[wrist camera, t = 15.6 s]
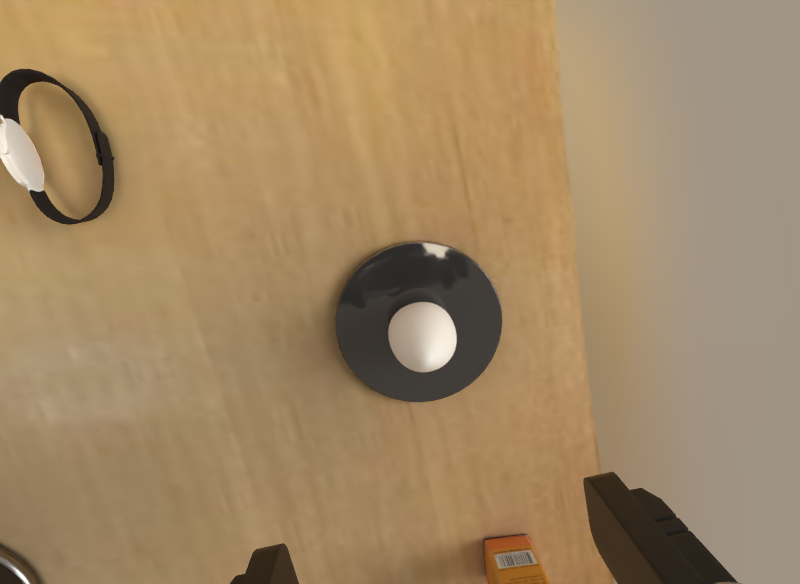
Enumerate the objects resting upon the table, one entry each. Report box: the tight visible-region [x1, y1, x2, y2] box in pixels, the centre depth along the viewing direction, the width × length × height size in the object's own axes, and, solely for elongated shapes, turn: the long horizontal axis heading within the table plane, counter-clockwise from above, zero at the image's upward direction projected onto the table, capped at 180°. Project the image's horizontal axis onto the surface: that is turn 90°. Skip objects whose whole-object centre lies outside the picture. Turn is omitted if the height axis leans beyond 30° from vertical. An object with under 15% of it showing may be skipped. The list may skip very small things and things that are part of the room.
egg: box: [388, 302, 457, 372], centre depth 25 cm, size 4×4×6 cm
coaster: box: [336, 241, 502, 402], centre depth 28 cm, size 10×10×1 cm
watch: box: [0, 69, 114, 225], centre depth 24 cm, size 8×5×4 cm, turn 12°
